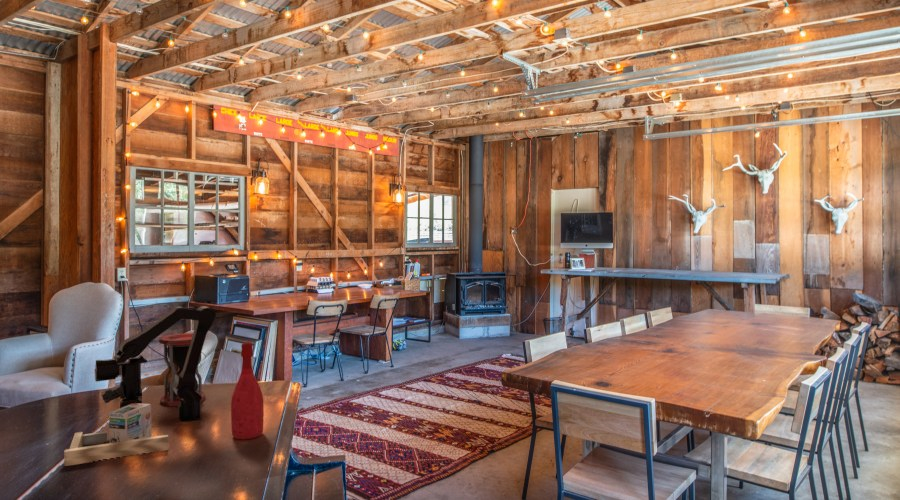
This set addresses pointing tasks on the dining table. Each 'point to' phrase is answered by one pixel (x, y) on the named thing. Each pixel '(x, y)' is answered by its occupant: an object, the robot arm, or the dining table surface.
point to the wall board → (111, 449)
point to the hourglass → (177, 355)
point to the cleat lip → (95, 438)
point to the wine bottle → (247, 401)
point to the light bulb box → (130, 422)
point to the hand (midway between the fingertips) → (131, 423)
